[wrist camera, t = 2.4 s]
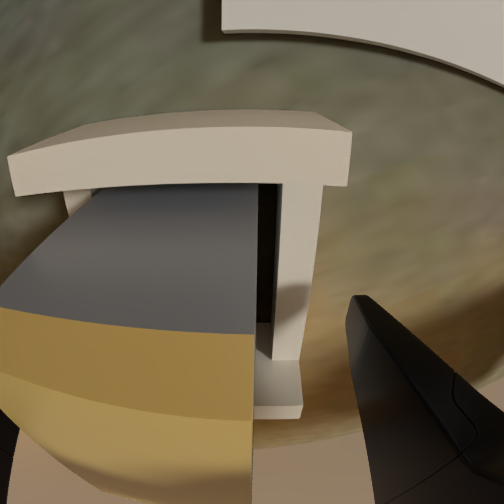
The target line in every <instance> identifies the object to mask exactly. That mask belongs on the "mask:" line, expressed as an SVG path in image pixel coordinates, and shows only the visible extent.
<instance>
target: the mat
mask: <svg viewBox="0 0 504 504" xmlns="http://www.w3.org/2000/svg"><path fill="white" fill-rule="evenodd" d="M222 31H223V33H224V34H228V33H278V34H296V35H309V36H319V37H328V38H335V39H343V40H349V41H355V42H361V43H367V44H372V45H377V46H381V47H386V48H390V49H395V50H399V51H403V52H407V53H410V54H414V55H418V56H421V57H425V58H428V59H431V60H434V61H438V62H441V63H444V64H447V65H449V66H452V67H455V68H458V69H461V70H463V71H466V72H468V73H471V74H473V75H476V76H478V77H481V78H483V79H485V80H488V81H490V82H492V83H494V84H497V85H499V86H501V87H503V88H504V0H222Z"/></svg>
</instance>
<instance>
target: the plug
mask: <svg viewBox="0 0 504 504" xmlns="http://www.w3.org/2000/svg"><path fill="white" fill-rule="evenodd" d="M257 242H258V183H183V184H154V185H134V186H118V187H105V188H103V189H102V190H101V191H100V192H98V193H97V194H96V195H95V196H94V197H92V198H91V199H90V200H89V201H88V202H86V203H85V204H84V205H83V206H82V207H80V208H79V209H78V210H77V211H76V212H75V213H74V214H72V215H71V216H70V217H69V218H68V219H67V220H66V221H64V222H63V223H62V224H61V225H60V226H59V227H58V228H57V229H56V230H55V231H54V232H52V233H51V234H50V235H49V236H48V237H47V238H46V239H45V240H44V241H43V242H42V243H41V244H40V245H39V246H38V247H37V248H36V249H35V250H34V251H33V252H32V253H31V254H30V255H29V256H28V257H27V258H26V259H25V260H24V261H23V262H22V263H21V264H20V265H19V266H18V267H17V268H16V269H15V270H14V272H13V273H12V274H11V275H10V276H9V277H8V278H7V279H6V280H5V281H4V283H3V284H2V285H1V286H0V409H1V410H2V411H3V412H4V413H5V414H6V415H7V416H8V417H9V418H10V419H11V420H12V421H13V422H14V423H15V424H16V425H17V426H18V427H19V428H20V429H21V430H22V431H23V432H25V433H26V434H27V435H28V436H29V437H30V438H31V439H32V440H33V441H35V442H36V443H37V444H38V445H39V446H41V447H42V448H43V449H44V450H45V451H46V452H48V453H49V454H50V455H51V456H53V457H54V458H55V459H57V460H58V461H59V462H60V463H62V464H63V465H64V466H66V467H67V468H68V469H70V470H71V471H72V472H74V473H75V474H77V475H78V476H80V477H81V478H82V479H84V480H85V481H87V482H88V483H90V484H92V485H93V486H95V487H96V488H98V489H99V490H101V491H103V492H106V493H109V494H113V495H116V496H120V497H123V498H127V499H131V500H135V501H140V502H143V503H148V504H251V503H252V470H253V434H254V396H255V354H256V307H257Z"/></svg>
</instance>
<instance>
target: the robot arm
mask: <svg viewBox="0 0 504 504" xmlns="http://www.w3.org/2000/svg"><path fill="white" fill-rule="evenodd" d="M345 324H346V334H347V342H348V350H349V359H350V368H351V375H352V380H353V385H354V390H355V394H356V399H357V403H358V408H359V413H360V418H361V423H362V428H363V433H364V438H365V443H366V449H367V455H368V461H369V467H370V472H371V479H372V486H373V492H374V499H375V504H504V412H503V411H501V410H500V409H499V408H497V407H496V406H495V405H494V404H493V403H491V402H490V401H489V400H488V399H486V398H485V397H484V396H483V395H481V394H480V393H479V392H478V391H477V390H476V389H474V388H473V387H472V386H471V385H470V384H469V383H468V382H466V381H465V380H464V379H463V378H462V377H461V376H460V375H459V374H458V373H457V372H454V370H453V369H452V368H451V367H450V366H449V365H448V364H447V363H445V362H444V361H443V360H442V359H441V358H440V357H439V356H438V355H436V354H435V353H434V352H433V351H432V350H431V349H430V348H429V347H427V346H426V345H425V344H424V343H423V342H422V341H421V340H419V339H418V338H417V337H416V336H415V335H414V334H413V333H411V332H410V331H409V330H408V329H407V328H406V327H404V326H403V325H402V324H401V323H400V322H399V321H397V320H396V319H395V318H394V317H393V316H392V315H390V314H389V313H388V312H387V311H386V310H385V309H383V308H382V307H381V306H380V305H379V304H377V303H376V302H375V301H374V300H373V299H371V298H370V297H369V296H367V295H354V296H353V297H352V298H351V301H350V304H349V308H348V312H347V316H346V323H345ZM19 430H20V428H19V427H18V426H17V425H16V424H15V423H14V422H13V421H12V420H11V419H10V418H9V417H8V416H7V415H6V414H5V413H4V412H3V411H2V410H1V409H0V504H7V495H8V487H9V481H10V474H11V468H12V463H13V456H14V452H15V447H16V443H17V438H18V434H19Z"/></svg>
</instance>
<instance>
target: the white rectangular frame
mask: <svg viewBox="0 0 504 504" xmlns="http://www.w3.org/2000/svg"><path fill="white" fill-rule="evenodd" d="M351 142H352V132H351V131H349V130H347V129H346V128H344V127H342V126H340V125H338V124H336V123H334V122H332V121H331V120H329V119H327V118H325V117H323V116H321V115H319V114H317V113H315V112H308V111H290V110H205V111H188V112H174V113H163V114H153V115H144V116H136V117H128V118H121V119H114V120H108V121H102V122H96V123H90V124H86V125H83V126H80V127H77V128H75V129H72V130H69V131H66V132H64V133H61V134H58V135H56V136H53V137H51V138H48V139H46V140H43V141H41V142H38V143H36V144H34V145H31V146H29V147H27V148H24V149H22V150H20V151H18V152H16V153H13V154H11V155H9V156H7V159H8V164H9V169H10V174H11V179H12V184H13V188H14V192H15V196H16V197H17V196H24V195H32V194H41V193H49V192H59V191H63V194H64V198H65V203H66V207H67V211H68V215H69V217H70V216H71V215H72V214H74V213H75V212H76V211H77V210H78V209H79V208H80V207H82V206H83V205H84V204H85V203H86V202H88V201H89V200H90V199H91V198H92V197H94V196H95V195H96V194H97V193H98V192H100V191H101V190H102V189H103V188H105V187H118V186H134V185H154V184H183V183H278V185H277V211H276V234H275V255H274V275H273V294H272V311H271V323H256V354H255V396H254V419H300V416H301V412H302V409H303V396H302V385H301V375H300V365H299V357H300V351H301V346H302V340H303V334H304V328H305V322H306V316H307V310H308V303H309V297H310V290H311V283H312V276H313V269H314V261H315V253H316V246H317V237H318V229H319V220H320V211H321V201H322V191H323V185H331V186H347V181H348V172H349V163H350V153H351Z"/></svg>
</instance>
